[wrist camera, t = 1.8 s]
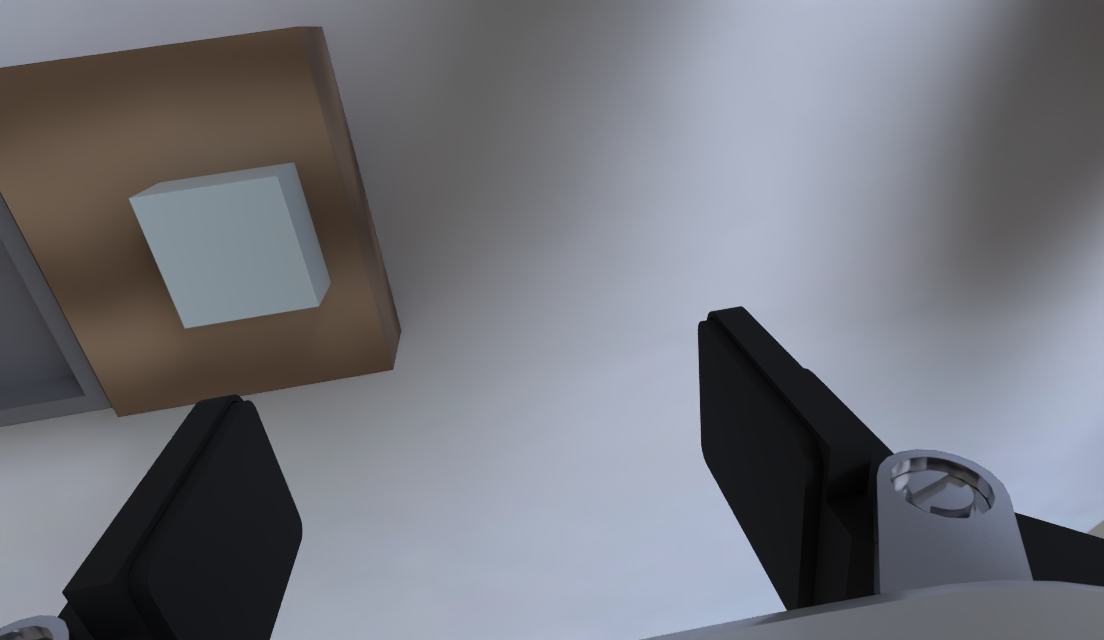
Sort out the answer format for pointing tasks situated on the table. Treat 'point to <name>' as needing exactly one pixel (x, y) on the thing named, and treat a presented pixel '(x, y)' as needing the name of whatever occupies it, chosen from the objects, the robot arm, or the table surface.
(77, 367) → the tray
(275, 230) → the tile
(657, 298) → the table surface
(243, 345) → the board
